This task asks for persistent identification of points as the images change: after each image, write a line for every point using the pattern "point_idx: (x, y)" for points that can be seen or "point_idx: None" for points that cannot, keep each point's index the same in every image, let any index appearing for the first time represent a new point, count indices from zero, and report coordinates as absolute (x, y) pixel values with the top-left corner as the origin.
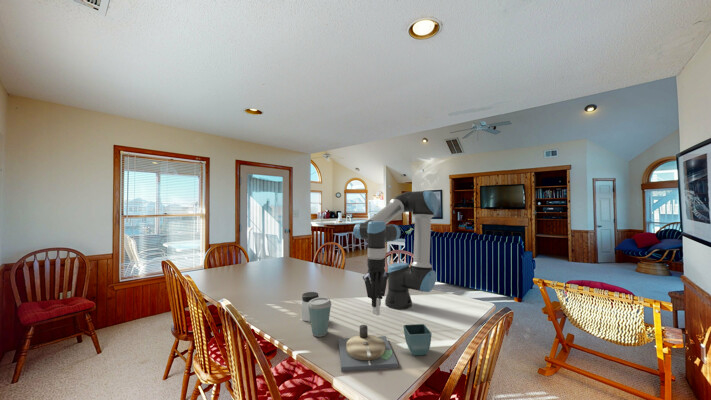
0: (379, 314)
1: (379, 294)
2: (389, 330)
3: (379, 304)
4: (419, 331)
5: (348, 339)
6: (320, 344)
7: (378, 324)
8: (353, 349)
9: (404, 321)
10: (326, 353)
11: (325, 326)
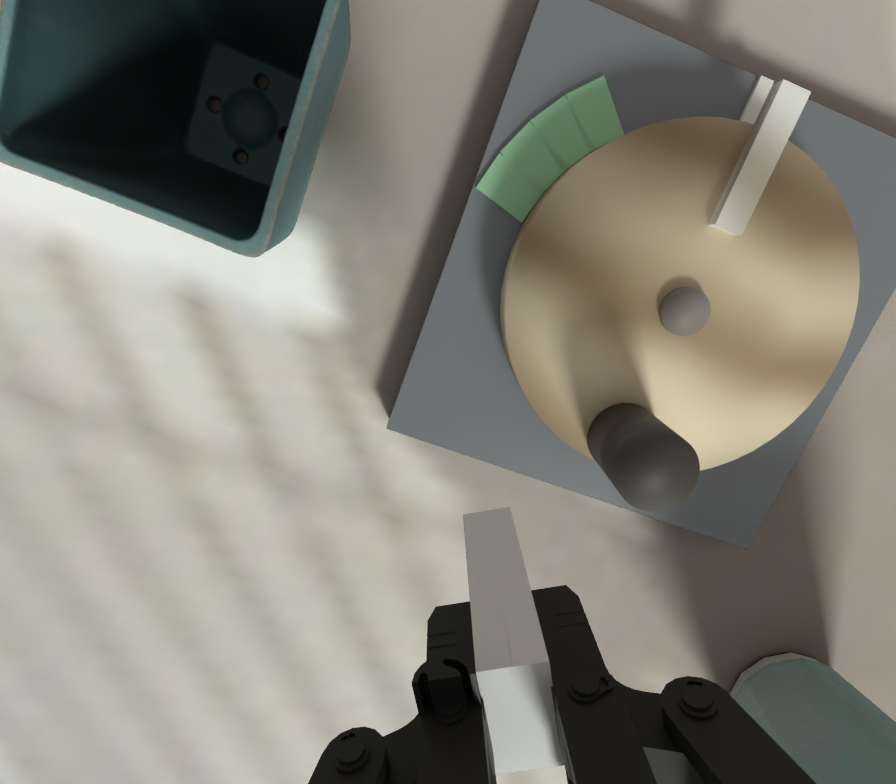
0: (466, 516)
1: (484, 765)
2: (278, 533)
3: (475, 601)
4: (106, 172)
5: (687, 508)
6: (852, 562)
7: (310, 650)
8: (827, 274)
9: (71, 611)
10: (883, 437)
11: (813, 705)
